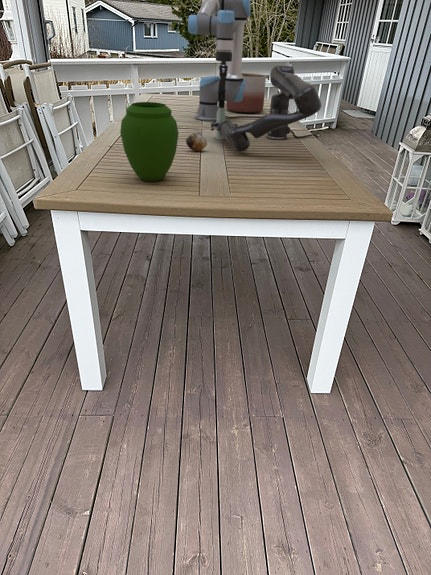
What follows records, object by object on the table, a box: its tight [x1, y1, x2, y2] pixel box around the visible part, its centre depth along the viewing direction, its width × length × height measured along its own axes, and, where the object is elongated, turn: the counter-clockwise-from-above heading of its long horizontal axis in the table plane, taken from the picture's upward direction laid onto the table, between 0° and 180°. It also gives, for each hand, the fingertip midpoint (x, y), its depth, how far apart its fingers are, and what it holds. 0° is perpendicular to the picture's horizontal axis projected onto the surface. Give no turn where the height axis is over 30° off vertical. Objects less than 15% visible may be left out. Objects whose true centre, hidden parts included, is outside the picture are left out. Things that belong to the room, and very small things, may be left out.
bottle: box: [215, 107, 226, 140], centre depth 202 cm, size 4×4×16 cm
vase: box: [119, 101, 179, 182], centre depth 140 cm, size 20×20×24 cm
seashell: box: [185, 131, 208, 152], centre depth 181 cm, size 10×6×8 cm, turn 97°
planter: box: [225, 72, 267, 114], centre depth 275 cm, size 25×25×22 cm
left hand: (221, 106), depth 198 cm, fingers closed on cap, 4 cm apart
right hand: (219, 123), depth 205 cm, fingers closed on bottle, 4 cm apart
